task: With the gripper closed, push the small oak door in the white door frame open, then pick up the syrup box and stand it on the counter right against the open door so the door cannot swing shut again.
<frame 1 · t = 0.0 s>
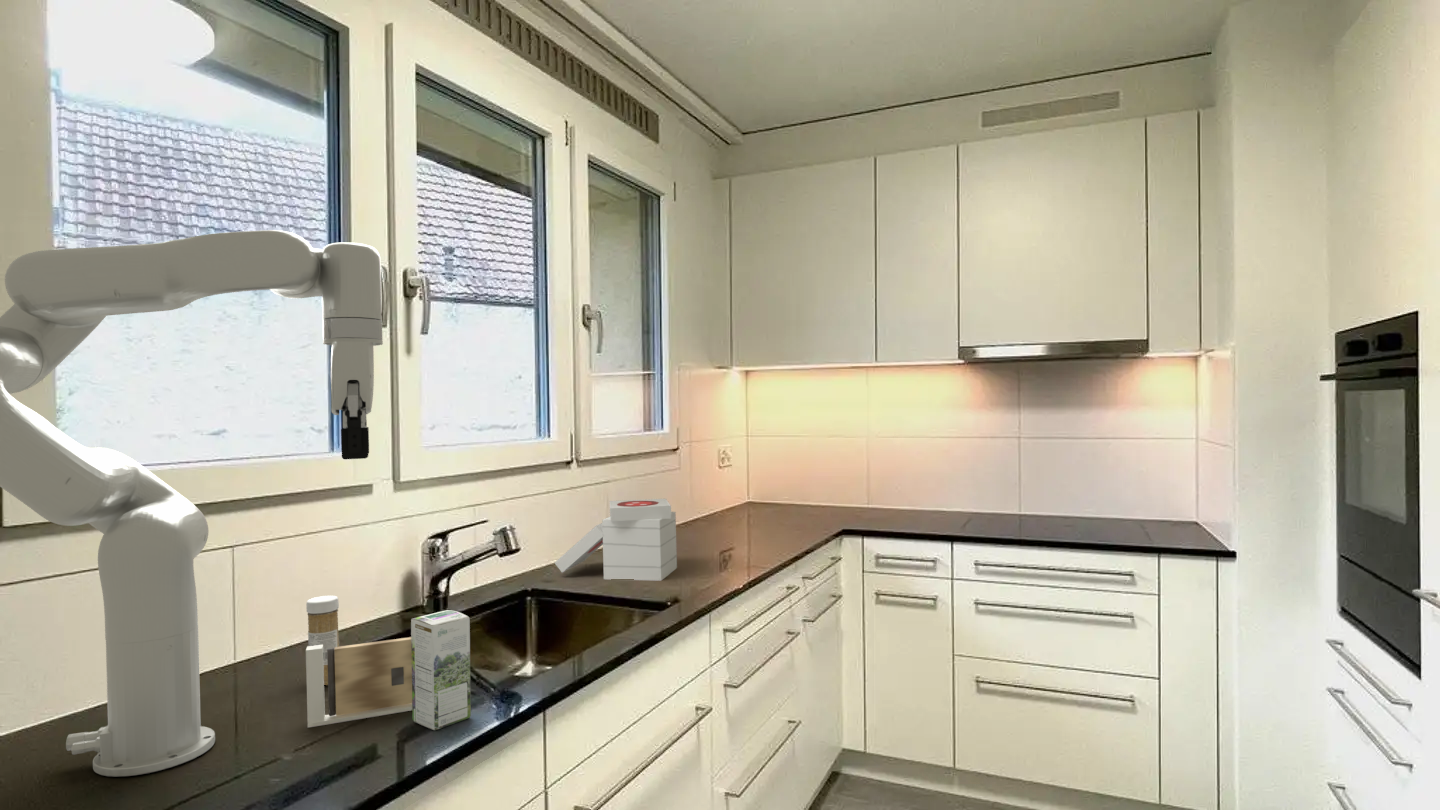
hand: (356, 456, 109), 37 cm above the worktop, tool pointing down, fingers open, 9 cm apart
stacked pizza boxes: (620, 574, 202), on the worktop
door frame: (371, 713, 111), on the worktop
syrup box: (442, 721, 109), on the worktop
door: (370, 676, 111), point 5 cm above the worktop, hinge at 0.0°
sprinkles bottle: (324, 683, 125), on the worktop
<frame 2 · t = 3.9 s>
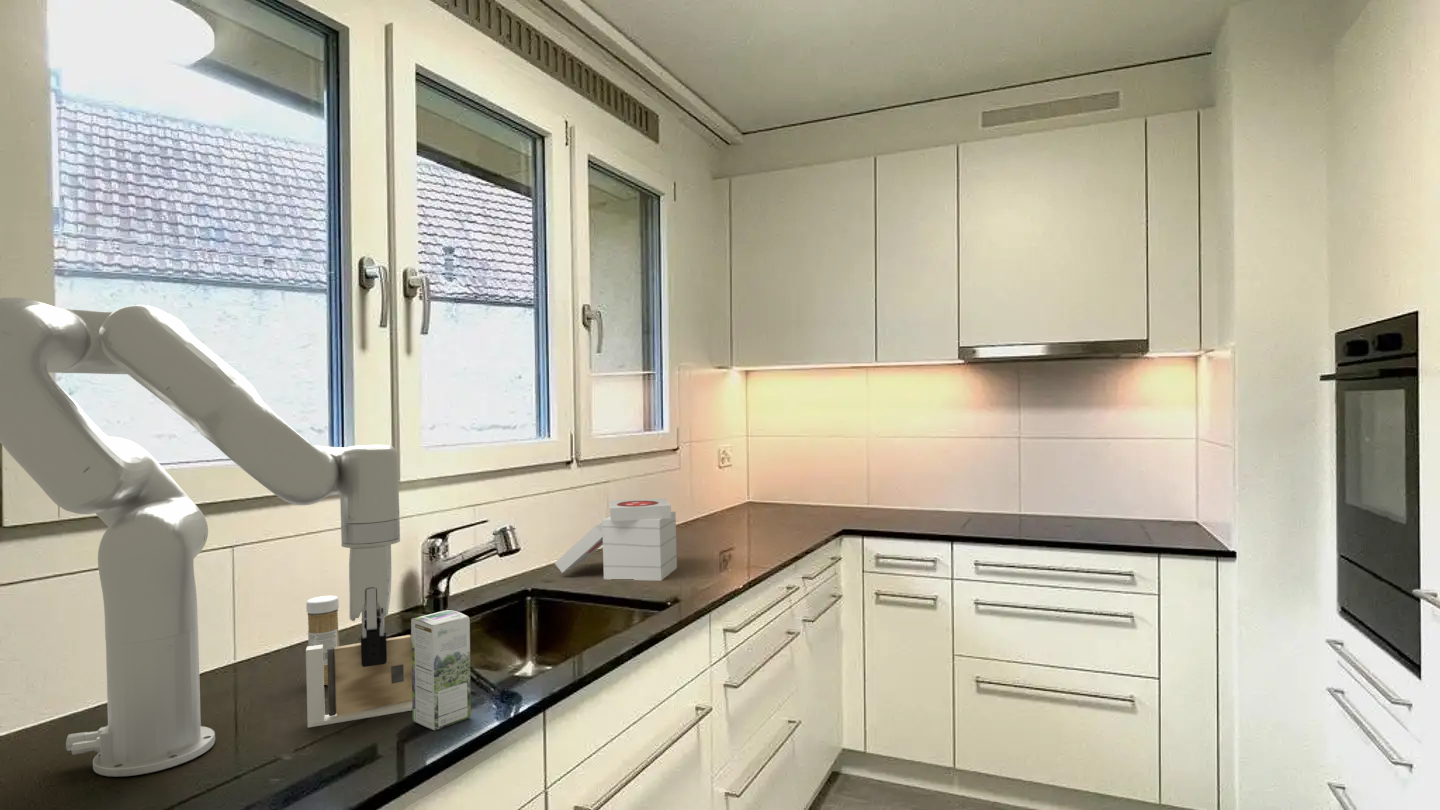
hand: (374, 663, 110), 8 cm above the worktop, tool pointing down, fingers closed
door: (370, 674, 112), point 5 cm above the worktop, hinge at 7.6°, touching gripper
everything else where it was.
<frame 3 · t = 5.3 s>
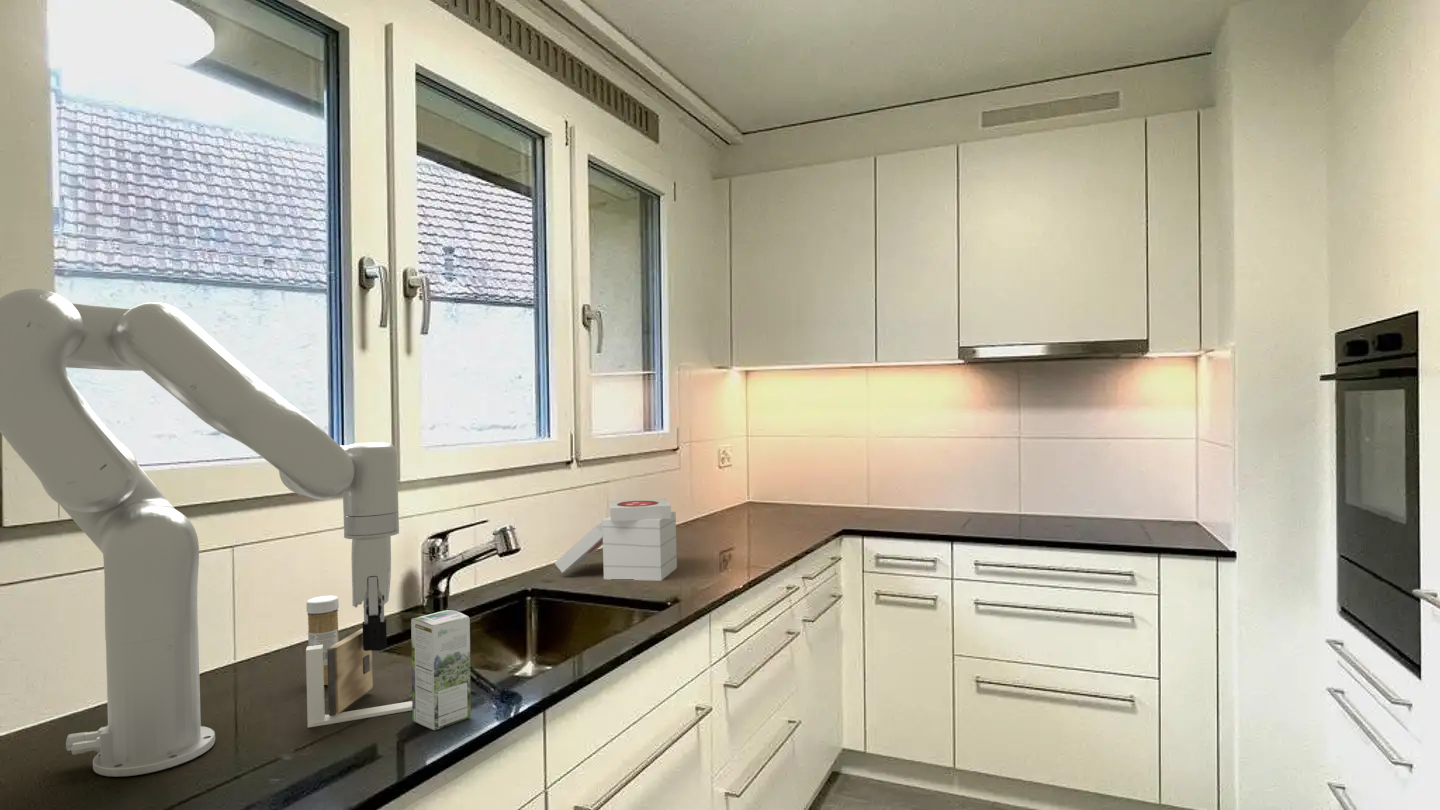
hand: (375, 647, 117), 8 cm above the worktop, tool pointing down, fingers closed
door: (350, 669, 114), point 5 cm above the worktop, hinge at 64.2°, touching gripper
everything else where it was.
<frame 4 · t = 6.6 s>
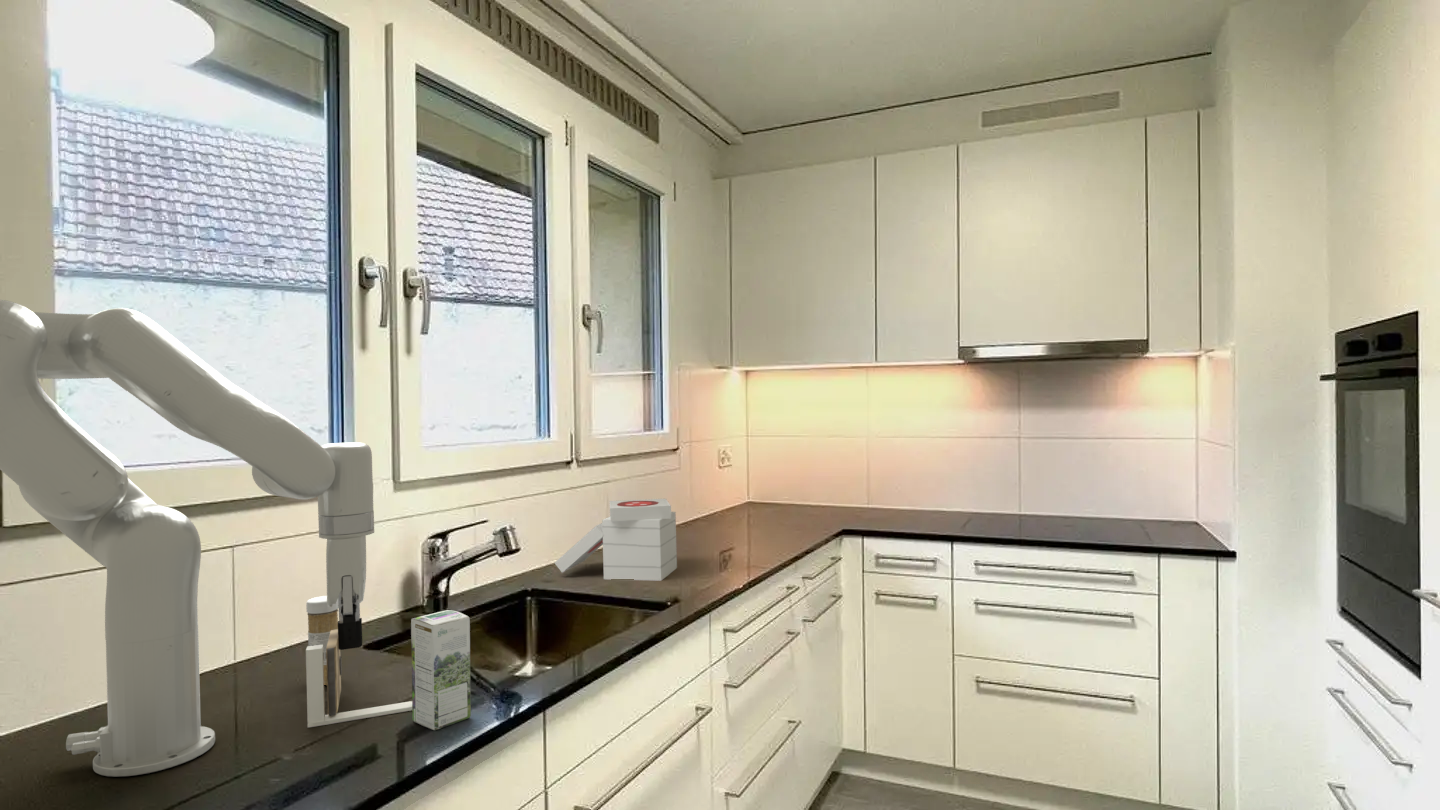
hand: (350, 646, 118), 8 cm above the worktop, tool pointing down, fingers closed
door: (334, 670, 114), point 5 cm above the worktop, hinge at 89.5°, touching gripper
everything else where it was.
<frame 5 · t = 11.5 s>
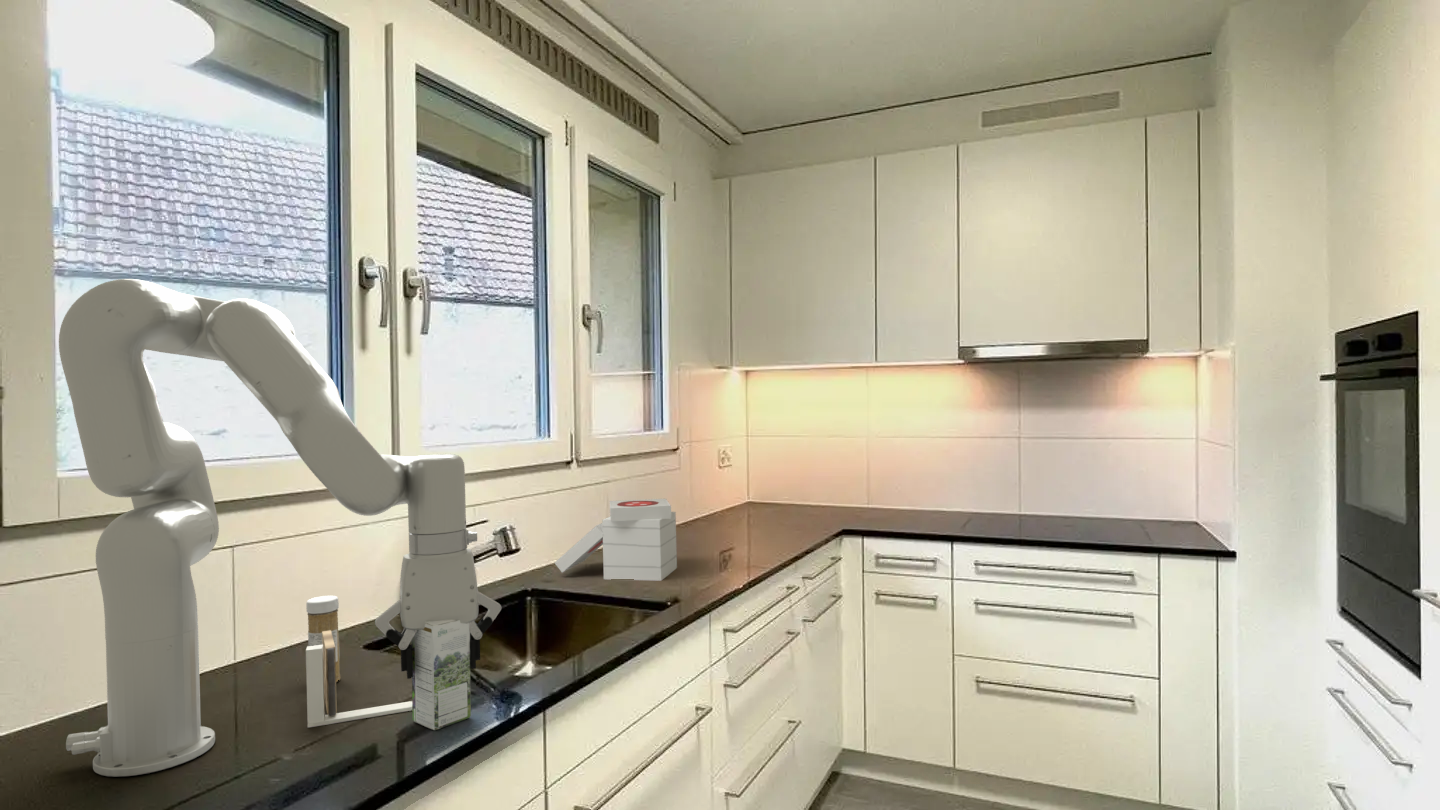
hand: (441, 669, 109), 7 cm above the worktop, tool pointing down, fingers closed on syrup box, 7 cm apart
syrup box: (442, 721, 109), on the worktop, touching gripper
door: (330, 671, 114), point 5 cm above the worktop, hinge at 96.0°
everything else where it was.
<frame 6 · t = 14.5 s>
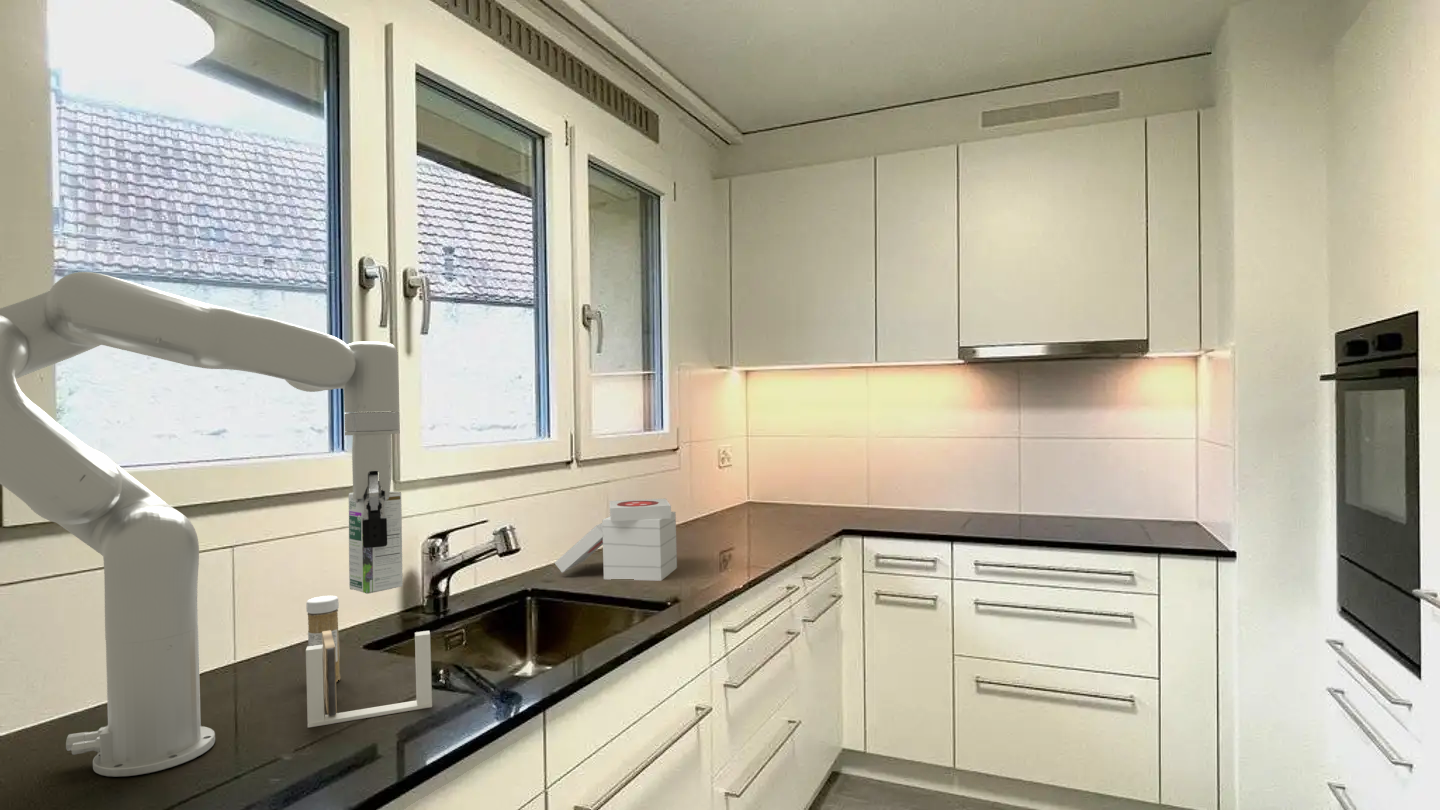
hand: (375, 541, 117), 23 cm above the worktop, tool pointing down, fingers closed on syrup box, 7 cm apart
syrup box: (376, 589, 117), point 16 cm above the worktop, touching gripper
everything else where it was.
when the fingers open (9 cm above the worktop, at t = 17.7 s): syrup box stays where it is, on the worktop.
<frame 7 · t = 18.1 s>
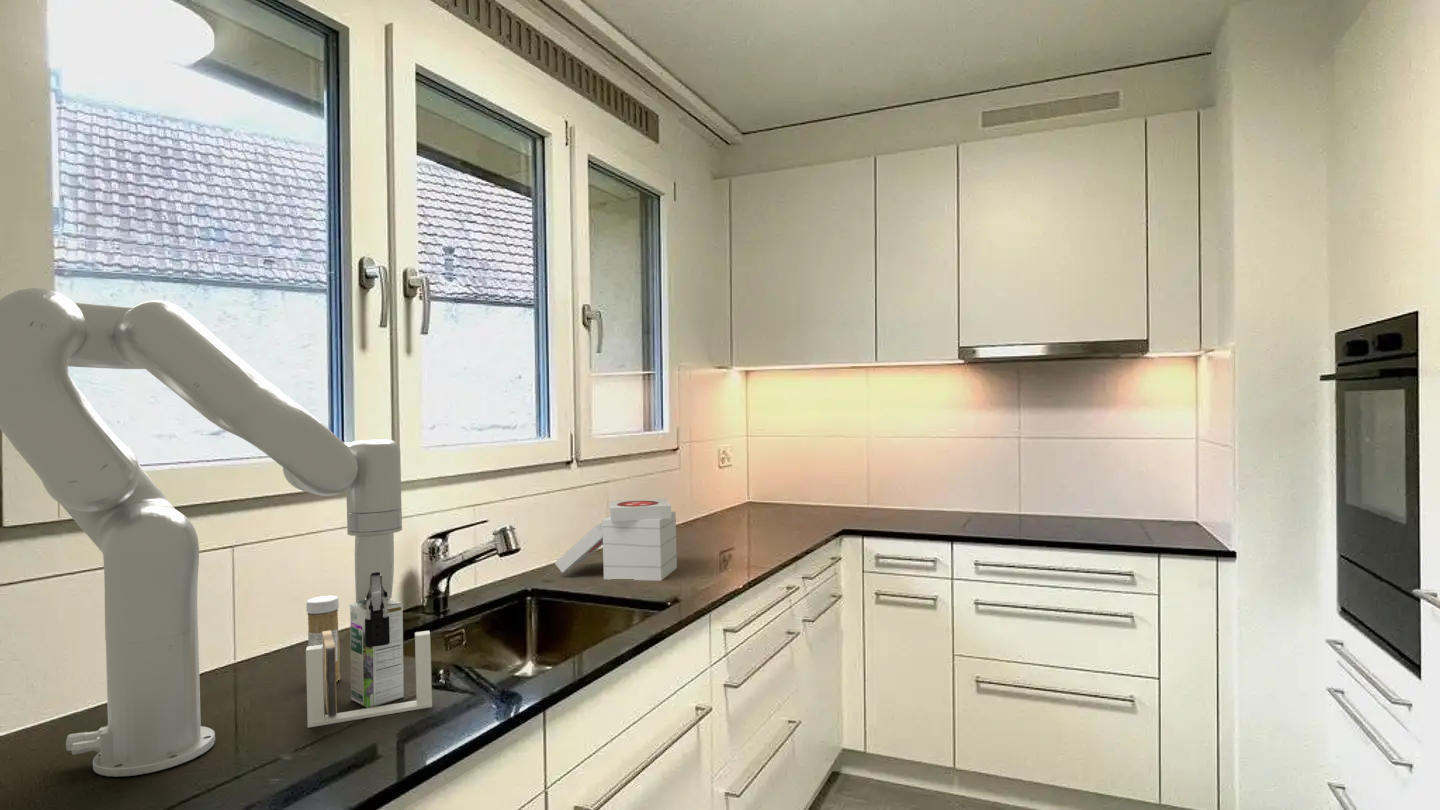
hand: (377, 636, 117), 9 cm above the worktop, tool pointing down, fingers open, 9 cm apart
syrup box: (377, 700, 117), on the worktop
everything else where it was.
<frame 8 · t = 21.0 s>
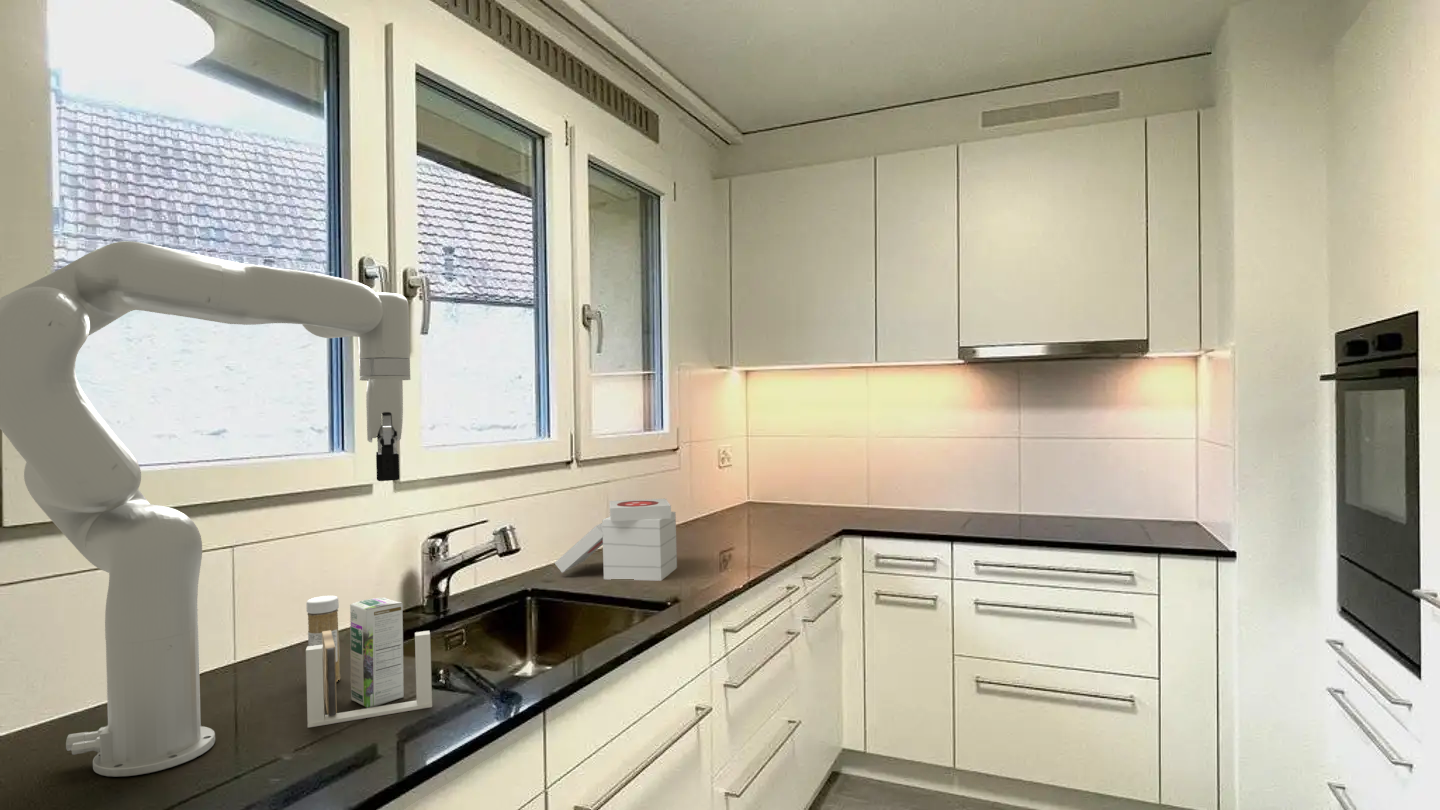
hand: (387, 478, 125), 32 cm above the worktop, tool pointing down, fingers open, 9 cm apart
nothing on the worktop moved.
at the end: door at +96° (first picture: +0°); syrup box inside the target area (0.3 cm from its centre), on the worktop; syrup box tilted 0° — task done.
